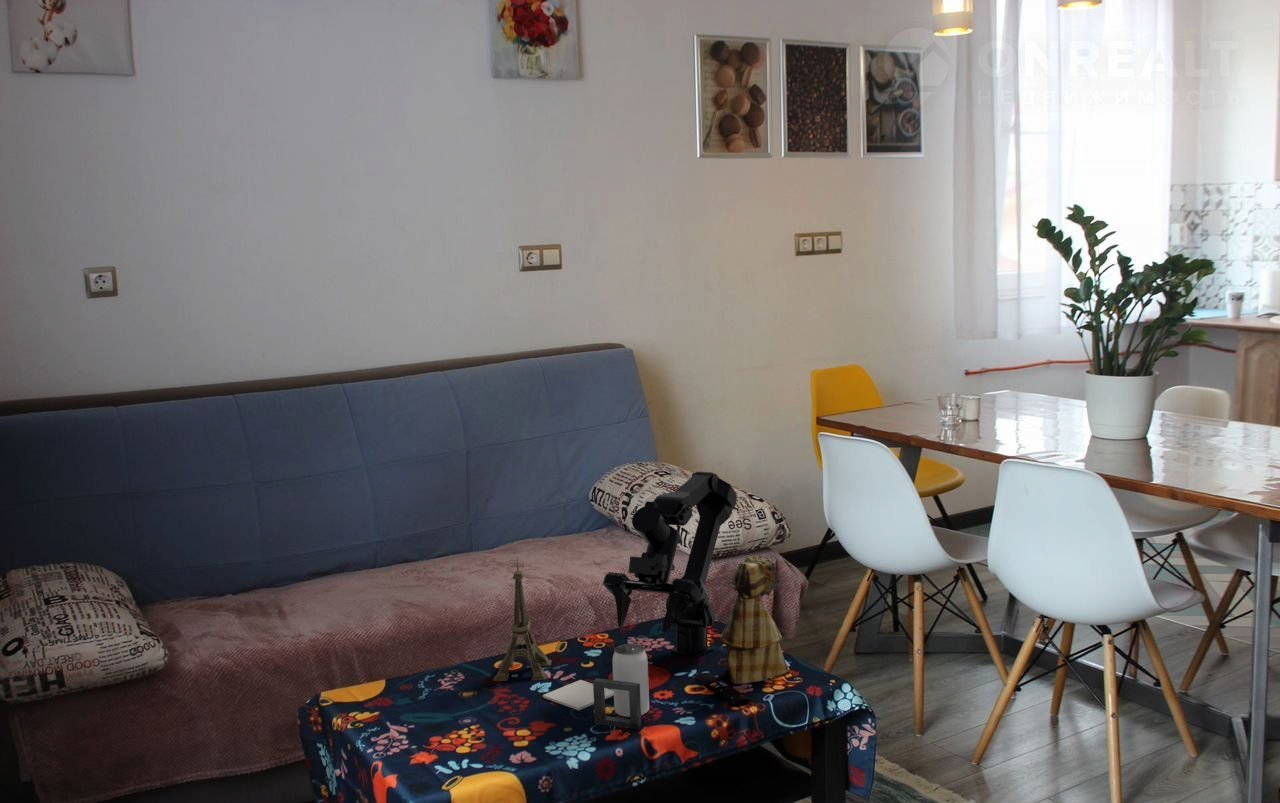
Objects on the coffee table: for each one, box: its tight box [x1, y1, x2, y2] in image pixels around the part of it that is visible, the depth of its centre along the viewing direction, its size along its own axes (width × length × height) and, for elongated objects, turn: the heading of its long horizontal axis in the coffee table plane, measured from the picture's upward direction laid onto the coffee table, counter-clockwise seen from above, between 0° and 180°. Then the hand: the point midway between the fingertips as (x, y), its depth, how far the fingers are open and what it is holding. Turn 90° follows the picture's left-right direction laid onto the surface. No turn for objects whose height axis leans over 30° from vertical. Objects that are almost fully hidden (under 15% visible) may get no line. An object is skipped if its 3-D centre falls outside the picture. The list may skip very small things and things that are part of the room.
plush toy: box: [719, 555, 790, 685], centre depth 227 cm, size 14×14×25 cm
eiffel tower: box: [492, 557, 553, 682], centre depth 233 cm, size 11×11×25 cm
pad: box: [542, 679, 614, 711], centre depth 220 cm, size 10×10×1 cm
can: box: [612, 643, 650, 718], centre depth 211 cm, size 6×6×12 cm
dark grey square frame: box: [592, 677, 642, 730], centre depth 206 cm, size 2×8×8 cm, turn 68°
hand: (641, 629), depth 219 cm, fingers open, 9 cm apart
